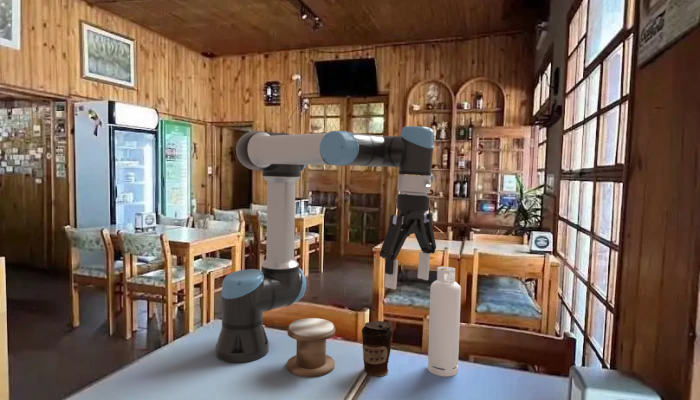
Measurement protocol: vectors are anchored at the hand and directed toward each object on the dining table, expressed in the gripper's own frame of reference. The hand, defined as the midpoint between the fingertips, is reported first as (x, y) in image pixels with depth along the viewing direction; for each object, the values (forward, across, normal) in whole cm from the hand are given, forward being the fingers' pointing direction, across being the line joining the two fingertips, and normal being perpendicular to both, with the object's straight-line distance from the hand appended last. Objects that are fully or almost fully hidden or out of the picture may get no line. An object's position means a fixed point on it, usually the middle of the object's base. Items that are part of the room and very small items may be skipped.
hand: (407, 283), depth 102 cm
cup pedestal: (+28, -4, +27) cm, 39 cm away
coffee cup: (+28, +6, +12) cm, 31 cm away
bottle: (+27, +19, -1) cm, 33 cm away
